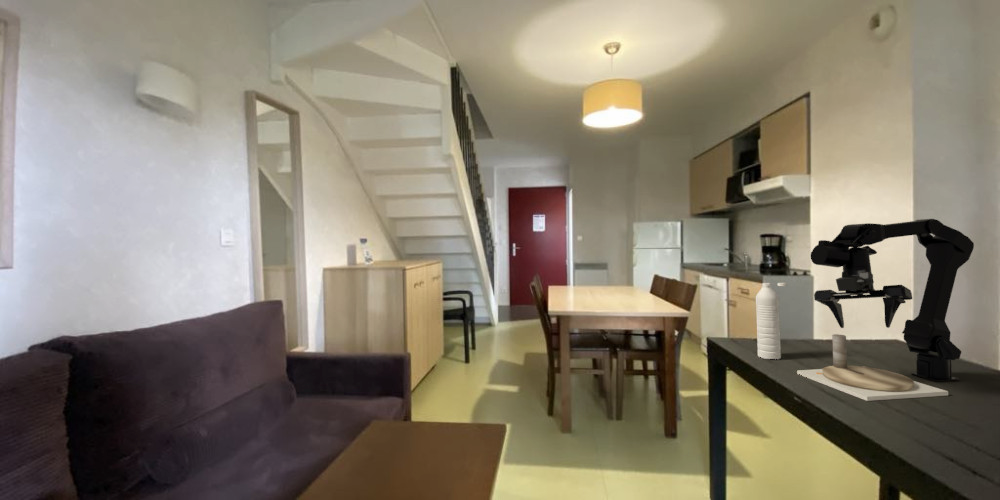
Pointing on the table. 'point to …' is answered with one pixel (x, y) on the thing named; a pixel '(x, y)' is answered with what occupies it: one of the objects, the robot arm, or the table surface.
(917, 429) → the table surface
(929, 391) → the base
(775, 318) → the water bottle
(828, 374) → the dial
